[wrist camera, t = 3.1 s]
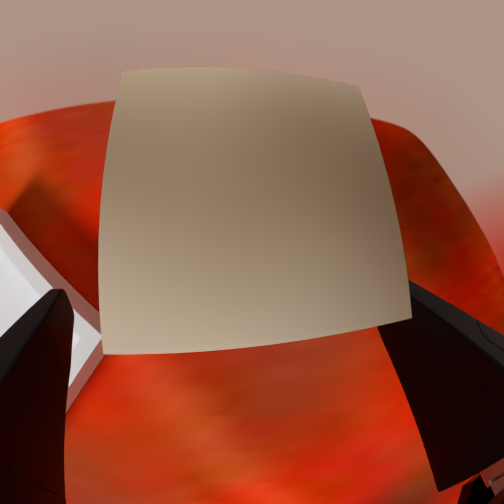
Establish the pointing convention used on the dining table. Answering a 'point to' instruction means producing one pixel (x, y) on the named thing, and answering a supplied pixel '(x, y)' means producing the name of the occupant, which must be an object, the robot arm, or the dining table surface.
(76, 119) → the dining table surface
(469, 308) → the dining table surface
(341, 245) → the birch block
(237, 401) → the dining table surface
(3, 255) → the box
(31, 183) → the dining table surface
